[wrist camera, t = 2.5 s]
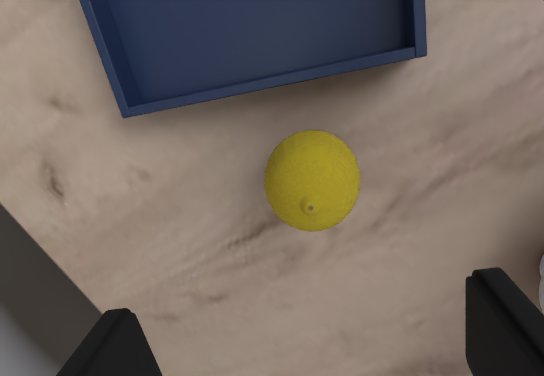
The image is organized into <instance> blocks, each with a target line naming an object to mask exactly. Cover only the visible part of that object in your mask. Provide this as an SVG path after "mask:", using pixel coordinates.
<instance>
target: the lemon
mask: <svg viewBox="0 0 544 376" xmlns="http://www.w3.org/2000/svg"><path fill="white" fill-rule="evenodd" d="M265 190H266V194H267V198H268V201H269V203H270V205H271V207H272V209H273V211H274V212H275V213H276V214H277V215H278V217H279V218H280V219H281V220H282V221H284V222H285V223H287V224H288V225H290V226H291V227H294V228H297V229H299V230H304V231H322V230H325V229H328V228H331V227H333V226H335V225H336V224H338V223H340V222H341V221H342V220H343V219H344V218H345V217H346V216H347V215H348V214H349V213H350V211H351V210H352V208H353V207H354V205H355V203H356V200H357V197H358V193H359V190H360V171H359V167H358V164H357V160H356V158H355V156H354V155H353V153H352V151H351V150H350V148H349V147H348V146H347V145H346V144H345V143H344V142H343V141H342V140H341V139H339V138H337V137H335V136H334V135H332V134H330V133H327V132H323V131H319V130H306V131H302V132H298V133H295V134H293V135H291V136H289V137H288V138H286V139H284V140H283V141H282V142H281V143H280V144H279V145H278V146H277V147H276V148H275V150H274V151H273V153H272V155H271V156H270V158H269V160H268V163H267V167H266V170H265Z"/></svg>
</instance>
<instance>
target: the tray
mask: <svg viewBox="0 0 544 376" xmlns="http://www.w3.org/2000/svg"><path fill="white" fill-rule="evenodd" d="M80 3H81V6H82V9H83V11H84V14H85V17H86V19H87V22H88V25H89V28H90V30H91V33H92V36H93V39H94V41H95V44H96V47H97V49H98V52H99V55H100V58H101V60H102V63H103V66H104V68H105V71H106V74H107V77H108V79H109V82H110V85H111V88H112V90H113V93H114V96H115V98H116V101H117V104H118V107H119V109H120V112H121V115H122V117H123V118H128V117H132V116H137V115H142V114H147V113H152V112H157V111H162V110H166V109H171V108H176V107H181V106H186V105H191V104H196V103H200V102H205V101H210V100H215V99H220V98H225V97H230V96H234V95H239V94H244V93H249V92H254V91H259V90H263V89H268V88H273V87H278V86H283V85H288V84H293V83H297V82H302V81H307V80H312V79H317V78H322V77H327V76H331V75H336V74H341V73H346V72H351V71H356V70H361V69H365V68H370V67H375V66H380V65H385V64H390V63H395V62H399V61H404V60H409V59H414V58H419V57H424V56H427V42H426V14H425V0H80Z"/></svg>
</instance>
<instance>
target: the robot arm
mask: <svg viewBox="0 0 544 376" xmlns="http://www.w3.org/2000/svg"><path fill="white" fill-rule="evenodd" d="M466 359H467V363H468V365H469V368H470V370H471V372H472V374H473V376H544V315H543V314H542V313H541V312H540V311H539V310H538V309H537V307H536V306H535V305H534V304H533V303H532V302H531V301H530V300H529V299H528V298H527V296H526V295H525V294H524V293H523V292H522V291H521V290H520V289H519V288H518V287H517V285H516V284H515V283H514V282H513V281H512V280H511V279H510V278H509V277H508V275H507V274H506V273H505V272H504V271H503V270H502V269H501V268H489V269H480V270H474V271H473V273H472V276H470V277H467V278H466ZM56 376H162V373H161V371H160V369H159V367H158V364H157V362H156V360H155V357H154V355H153V353H152V351H151V348H150V346H149V344H148V342H147V339H146V337H145V335H144V333H143V330H142V328H141V326H140V324H139V321H138V319H137V317H136V315H135V314H134V313H131V311H130V310H129V309H127V308H122V309H113V310H108V311H106V312H105V313H104V314H103V315H102V317H101V318H100V319H99V320H98V322H97V323H96V324H95V326H94V327H93V328H92V330H91V331H90V332H89V333H88V335H87V336H86V337H85V339H84V340H83V341H82V342H81V344H80V345H79V346H78V348H77V349H76V350H75V352H74V353H73V354H72V356H71V357H70V358H69V359H68V361H67V362H66V364H65V365H64V366H63V367H62V369H61V370H60V371H59V372H58V374H57V375H56Z"/></svg>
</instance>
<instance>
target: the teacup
mask: <svg viewBox="0 0 544 376" xmlns="http://www.w3.org/2000/svg"><path fill="white" fill-rule="evenodd" d="M539 269H540V275H541V277H542V278H541V281H540V285H539V301H540V306H541V309H542V312H543V314H544V255H543V256H542V259H541V262H540V267H539Z"/></svg>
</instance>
